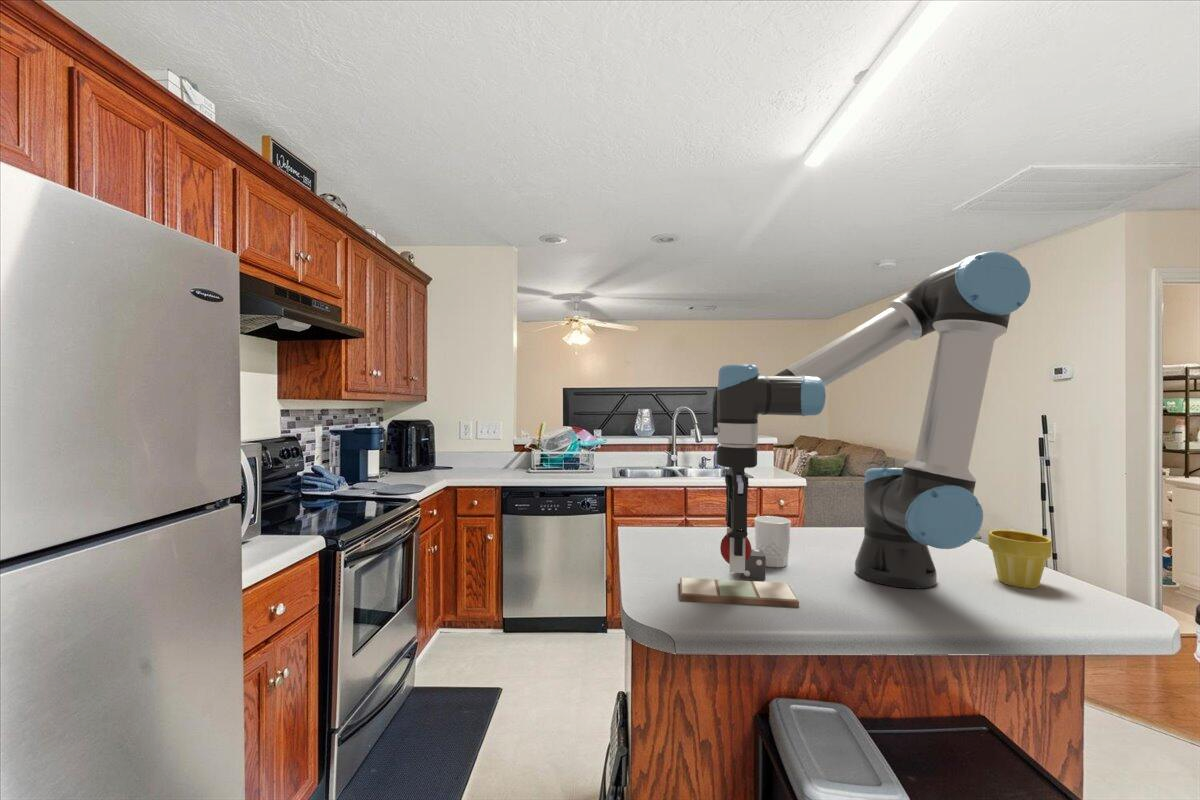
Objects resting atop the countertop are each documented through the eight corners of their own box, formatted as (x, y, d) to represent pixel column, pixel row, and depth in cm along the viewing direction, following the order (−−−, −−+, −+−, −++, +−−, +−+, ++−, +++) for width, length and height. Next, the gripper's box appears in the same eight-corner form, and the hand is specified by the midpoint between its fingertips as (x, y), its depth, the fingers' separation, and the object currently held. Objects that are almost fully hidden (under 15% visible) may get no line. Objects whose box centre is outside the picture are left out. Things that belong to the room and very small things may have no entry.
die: (761, 573, 117) (761, 549, 117) (765, 580, 112) (765, 555, 112) (737, 571, 118) (738, 548, 118) (740, 579, 112) (740, 554, 112)
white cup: (795, 568, 120) (795, 523, 120) (759, 568, 120) (760, 523, 120) (783, 558, 128) (784, 516, 128) (750, 558, 128) (750, 515, 128)
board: (787, 588, 107) (787, 582, 107) (799, 607, 97) (799, 600, 97) (680, 582, 110) (680, 576, 110) (680, 600, 100) (680, 593, 100)
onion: (752, 573, 100) (752, 530, 100) (720, 571, 101) (720, 528, 101) (750, 564, 106) (750, 523, 106) (719, 562, 107) (720, 521, 107)
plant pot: (1064, 593, 105) (1064, 543, 105) (1005, 590, 107) (1006, 540, 107) (1031, 576, 116) (1031, 530, 116) (977, 573, 117) (978, 528, 117)
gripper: (713, 441, 113) (711, 552, 113) (721, 449, 95) (719, 581, 95) (750, 442, 112) (748, 554, 112) (765, 450, 94) (763, 584, 94)
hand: (735, 566), depth 103 cm, fingers closed on onion, 6 cm apart
